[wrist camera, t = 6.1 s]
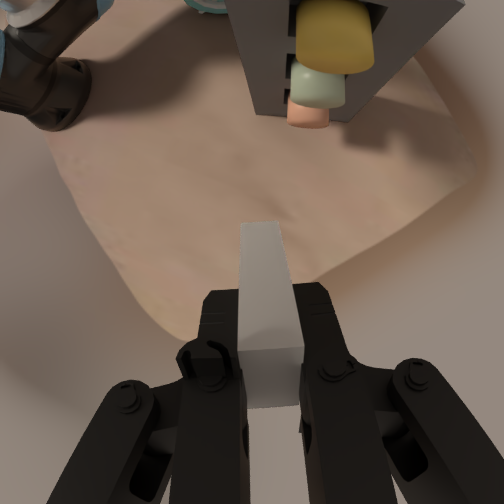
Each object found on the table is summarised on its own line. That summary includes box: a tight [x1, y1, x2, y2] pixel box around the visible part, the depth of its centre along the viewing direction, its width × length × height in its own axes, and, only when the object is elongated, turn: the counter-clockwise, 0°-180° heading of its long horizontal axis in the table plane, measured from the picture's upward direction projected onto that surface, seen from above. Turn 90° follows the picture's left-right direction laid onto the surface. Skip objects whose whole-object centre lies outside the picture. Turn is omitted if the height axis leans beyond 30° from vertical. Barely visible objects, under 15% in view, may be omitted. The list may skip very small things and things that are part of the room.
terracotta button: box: [287, 89, 329, 129], centre depth 33 cm, size 4×5×5 cm
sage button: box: [290, 56, 345, 109], centre depth 24 cm, size 4×5×5 cm
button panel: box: [224, 0, 465, 122], centre depth 25 cm, size 6×14×33 cm, turn 87°
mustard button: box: [296, 0, 374, 74], centre depth 15 cm, size 4×5×5 cm
